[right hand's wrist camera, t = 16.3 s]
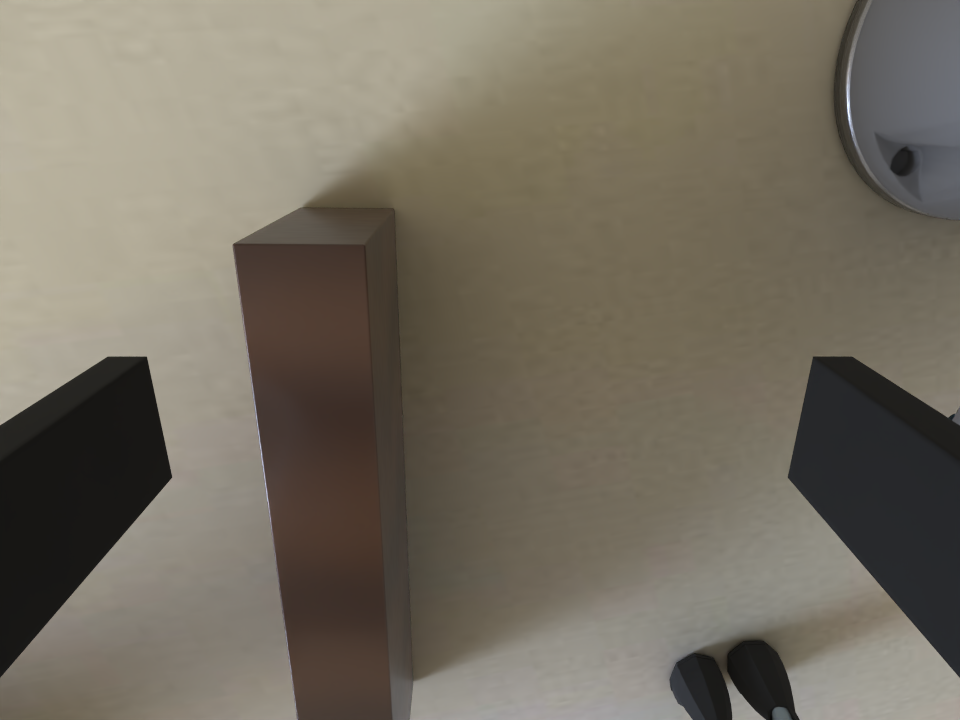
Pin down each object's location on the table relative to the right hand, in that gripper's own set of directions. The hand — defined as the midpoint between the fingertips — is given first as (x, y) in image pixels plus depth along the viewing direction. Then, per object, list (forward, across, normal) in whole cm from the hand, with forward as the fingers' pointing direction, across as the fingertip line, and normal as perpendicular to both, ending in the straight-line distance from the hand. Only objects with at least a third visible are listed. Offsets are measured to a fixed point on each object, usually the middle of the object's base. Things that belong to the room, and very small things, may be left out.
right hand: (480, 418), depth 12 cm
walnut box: (+22, +7, +16) cm, 28 cm away
